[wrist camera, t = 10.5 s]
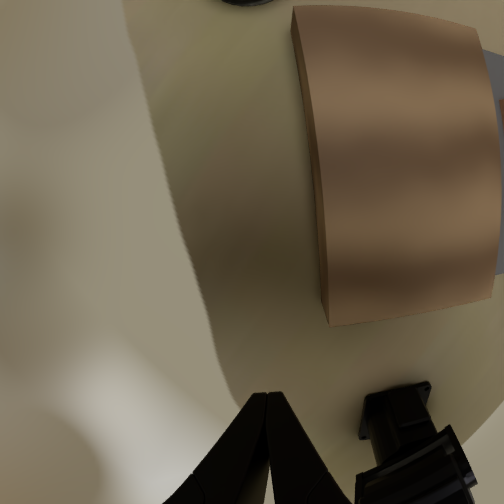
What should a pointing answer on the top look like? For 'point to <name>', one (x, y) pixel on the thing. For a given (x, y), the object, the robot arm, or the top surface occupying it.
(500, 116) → the mat
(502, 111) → the tile
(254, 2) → the dark grey chess piece
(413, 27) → the board
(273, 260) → the top surface
